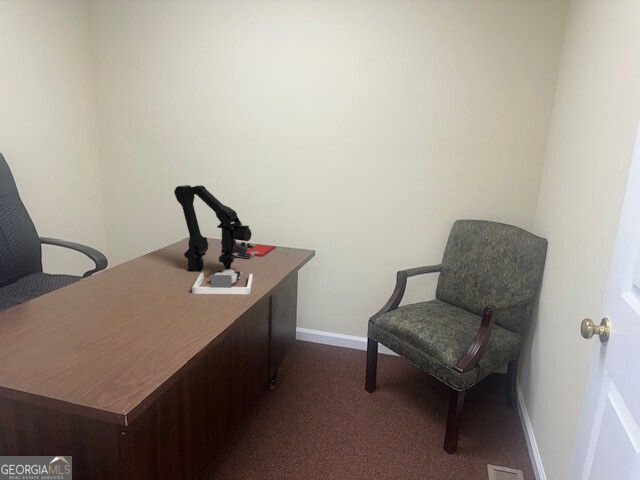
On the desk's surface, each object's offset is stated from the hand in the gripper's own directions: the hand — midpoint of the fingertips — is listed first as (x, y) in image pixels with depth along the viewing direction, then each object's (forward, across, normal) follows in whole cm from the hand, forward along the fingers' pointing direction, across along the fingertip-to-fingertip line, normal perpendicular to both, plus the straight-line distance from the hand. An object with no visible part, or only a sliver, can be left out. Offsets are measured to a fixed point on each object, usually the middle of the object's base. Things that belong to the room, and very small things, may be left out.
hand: (228, 272), depth 190 cm
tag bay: (+2, -14, 0) cm, 14 cm away
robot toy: (+2, -8, 0) cm, 8 cm away
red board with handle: (+3, +43, -10) cm, 44 cm away
